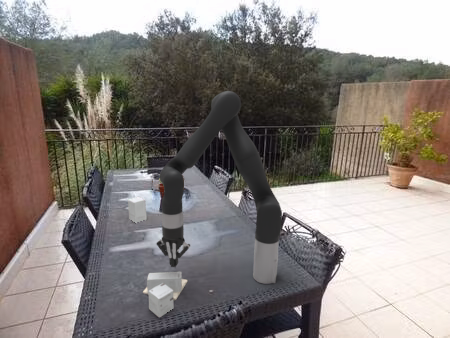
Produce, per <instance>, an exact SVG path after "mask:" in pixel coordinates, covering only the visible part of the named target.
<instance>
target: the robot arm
mask: <svg viewBox="0 0 450 338" xmlns="http://www.w3.org/2000/svg"><path fill="white" fill-rule="evenodd" d="M210 106H211V107H210V108H211V110H210V112H209V114H208V115H207V117H206V118H205V120H204V121H203V122H202V123H201V125H200V126H198V128H197V129H196V130H195V131H194V132H193V133H192V135H190V136H189V138H188V139H187V140H186V141H185V142H184V144H183V146H182V147H181V148H180V150H179V151H178V152H177V154H176V155H175V156H173V158H171V159H170V160H169V161H168V162H167V163H166V164H165V166H163V168H162V169H161V171H160V172H159V173H160V174H159V175H160V181H161V183H162V184H163V186H164V192H163V196H162V199H161V209H162V210H161V211H162V212H161V234H162V237H161V239H158V241H157V242H156V243H155V244H156V246H157V247H158V248H159V250H160V251H161V253H162V254H163V255H164V256H165V257H168V258H169V259H168V260H169V265H170V267H171V268H176V266H178V264H179V259H180V258H182V257H183V255H184V254H185V253H186V252H187V251H188V250H189V249H190V247H191V244H190V243H186V242H185V241H186V240H185V237H184V235H185V233H184V232H185V230H184V229H185V228H184V213H183V196H184V192H185V189H184V180H185V178H183V177H184V175H183V174H184V173H185V172H186V171H187V170H188V169H191V168H193V167H194V166H195V165H196V163H197V162H198V161H199V160H200V159H201V157H202V155H204V153H205V151H206V150H207V149H208V147H209V146H210V144H211V143H212V142H213V141H214V139H215V138H216V136H217V135H218V134H219V133H220V132H221V131H222V133H223V135H224V137H225V140H226V143H227V145H228V148H229V151H230V153H231V156H232V159H233V161H234V163H235V166H236V168H237V170H238V172H239V174H240V176H241V177H242V179H243V181H244V182H245V183H246V185H247V186H248V188H249V189H250V192H251V195H252V198H253V201H254V203H255V204H254V205H255V208H256V209H255V211H256V221H255V222H256V223H255V224H256V225H255V232H254V235H255V236H254V251H253V253H254V254H253V271H252V278H253V279H254V280H255V281H256V282H257V283H260V284H265V285H268V284H276V281H277V274H278V263H279V262H278V261H279V244H280V243H279V242H280V236H281V233H282V232H281V231H282V222H283V219H282V218H283V212H282V211H283V210H282V208H281V205H280V203H279V201H278V199H277V197H276V195H275V194H274V191H273V190H272V188H271V186H270V184H269V182H268V178H267V175H266V169H265V167H264V164H263V161H262V158H261V156H260V153H259V151H258V149H257V146H256V145H255V143H254V142H253V141H252V139H251V137H250V136H249V135H248V134H247V132H246V131H245V129H244V128H243V125H242V124H241V120H240V117H239V115H238V113H239V112H240V110H241V107H242V102H241V98H240V96H239V95H238V94H237V93H236V92H234V91H232V90H224V91H221V92H219V93H218V94H216V95H215V96H214V98H212V101H211V104H210ZM181 247H182V250H180V248H181Z"/></svg>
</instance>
